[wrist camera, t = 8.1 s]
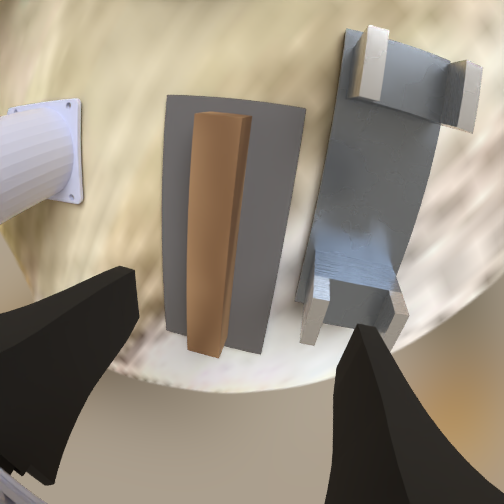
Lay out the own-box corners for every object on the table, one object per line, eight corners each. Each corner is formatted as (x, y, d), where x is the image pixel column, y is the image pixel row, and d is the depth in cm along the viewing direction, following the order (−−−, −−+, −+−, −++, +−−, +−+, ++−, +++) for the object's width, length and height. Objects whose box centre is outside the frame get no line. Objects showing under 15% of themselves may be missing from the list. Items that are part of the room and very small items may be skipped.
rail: (198, 329, 24) (187, 349, 22) (210, 111, 16) (194, 113, 14) (227, 336, 23) (218, 358, 21) (252, 115, 16) (242, 117, 14)
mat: (168, 327, 25) (166, 330, 24) (170, 94, 16) (167, 94, 16) (261, 351, 24) (260, 354, 24) (306, 108, 15) (305, 108, 15)
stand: (295, 296, 21) (286, 353, 16) (345, 30, 13) (357, 0, 8) (377, 311, 20) (387, 370, 15) (446, 62, 12) (493, 51, 7)
